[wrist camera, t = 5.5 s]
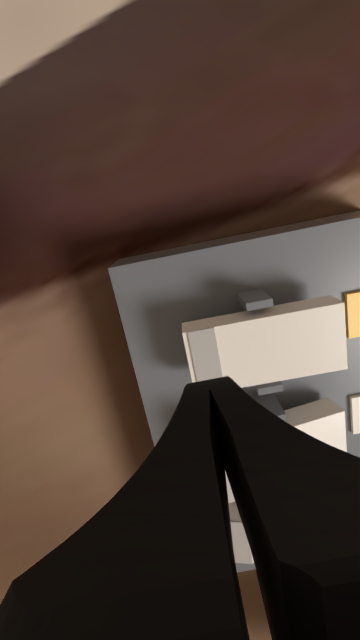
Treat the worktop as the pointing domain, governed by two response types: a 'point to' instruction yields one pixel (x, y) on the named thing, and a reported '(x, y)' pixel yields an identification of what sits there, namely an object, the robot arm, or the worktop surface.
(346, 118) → the worktop surface
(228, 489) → the rocker
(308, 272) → the switch box
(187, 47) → the worktop surface
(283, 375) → the rocker
